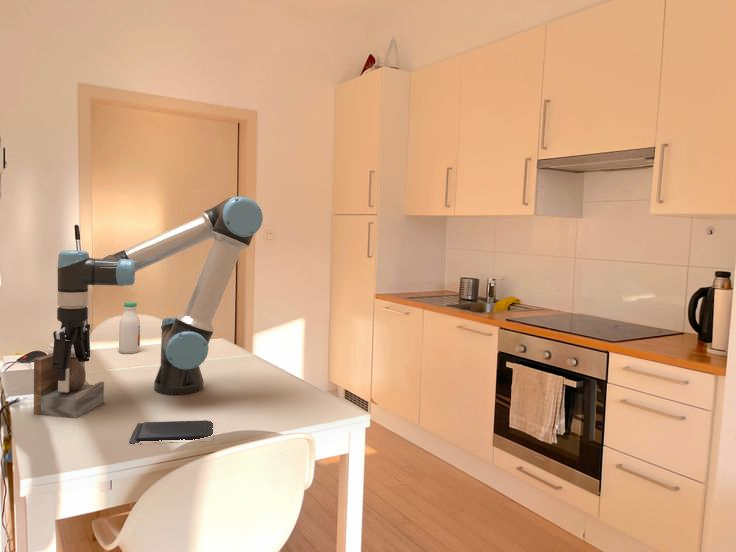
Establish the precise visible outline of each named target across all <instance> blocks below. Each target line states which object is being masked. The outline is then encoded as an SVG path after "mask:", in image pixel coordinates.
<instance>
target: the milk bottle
mask: <svg viewBox="0 0 736 552" xmlns="http://www.w3.org/2000/svg"><path fill="white" fill-rule="evenodd" d="M137 306H138V304H137V302H134V301H127V302H124V303H123V308H124V311H123V313H122V316H121V318H120V320H119V327H118V352H119V353H120V354H138V353H140V348H141V347H140V345H141V322H140V321H141V320H140V318H139V316H138V314H137Z"/></svg>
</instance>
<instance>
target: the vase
mask: <svg viewBox="0 0 736 552" xmlns="http://www.w3.org/2000/svg"><path fill="white" fill-rule="evenodd" d="M67 368H69V391H74V390H78V389H80V388H81V387H82V386H83V384H84V382H85V383H86V378H87V375H86V368H85V369H84V367H83V366H82V364H81V363H80V362H79V361H78V359H77V358H76V357H70V358H69V362H68V367H67Z"/></svg>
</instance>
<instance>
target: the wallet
mask: <svg viewBox="0 0 736 552" xmlns="http://www.w3.org/2000/svg"><path fill="white" fill-rule="evenodd" d="M211 421H212V420H206V419H205V420H204V419H203V420H179V421H178V420H177V421H175V420H174V421H170V420H169V421H144V422H138V423H137V424H136V426H135V427H136V428H134V429H135V430H134V429H133V432H132V434H131V436H130V439H129V442H128V444H129V443H130V444H135V443H139V442H140V441H159V440H161V441H162V440H180V439H181V440H183V439H185V440H193V439H194V440H195V439H200V438H204V437H208V436H211V435H212V434H213V429H212V428H213V423H212V422H211ZM130 444H129V445H130Z"/></svg>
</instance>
